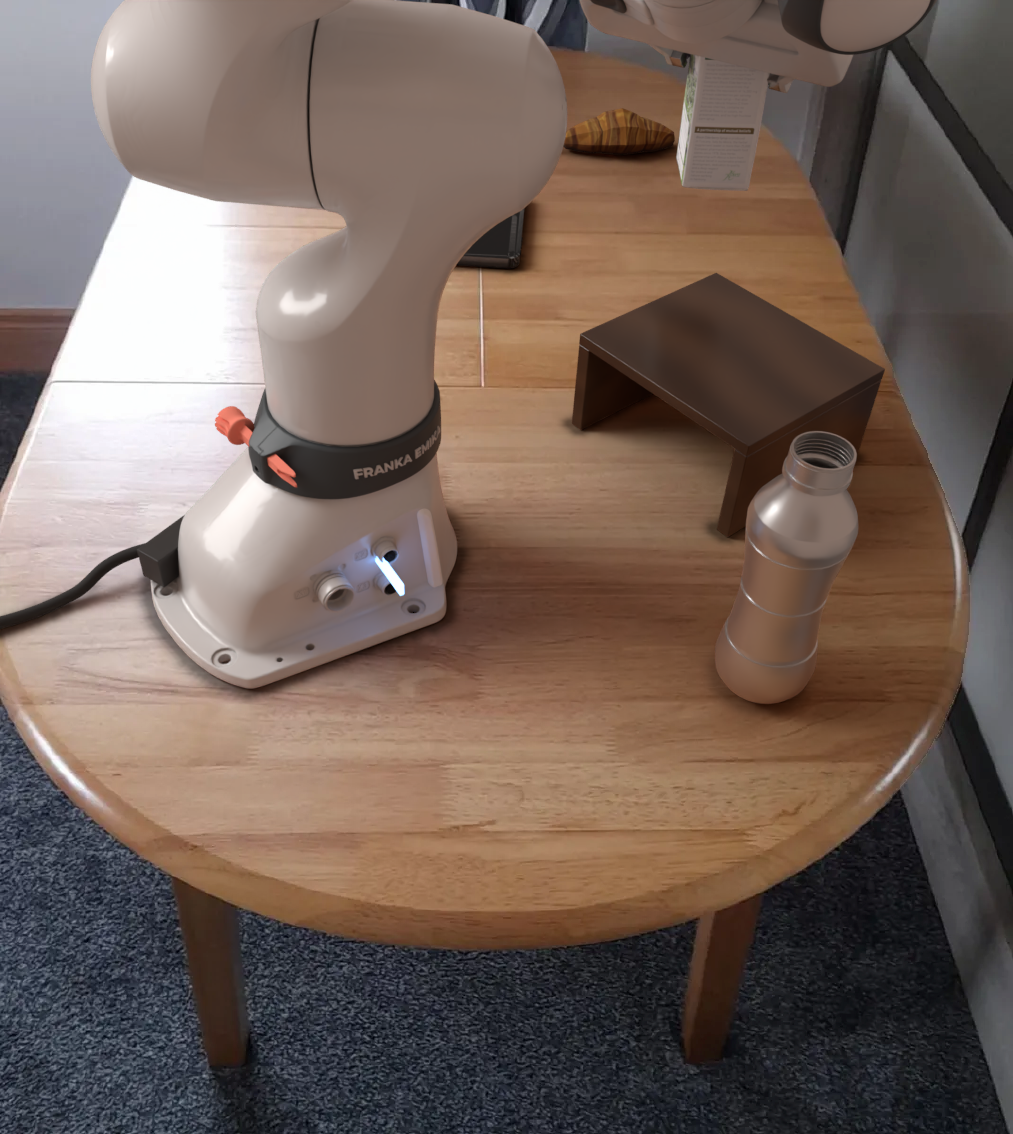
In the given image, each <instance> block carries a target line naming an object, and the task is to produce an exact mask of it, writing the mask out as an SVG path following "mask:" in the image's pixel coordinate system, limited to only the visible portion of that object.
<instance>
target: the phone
mask: <svg viewBox="0 0 1013 1134" xmlns="http://www.w3.org/2000/svg"><path fill="white" fill-rule="evenodd" d="M524 217H525V208H523V209H522V210H521V211H520V212H518V213H515V214H514V215H512V216H510V217H508V218H506V219H505V220H503V221H501V222H500V223H498V224H497V225H495V226H494V227H493V228H491V229H490V230H489V231H487V232H486V233H485V234H484V235H483V236H481V237H480V238H479V239H478V240H477V241H476V242H475V243H474V244H473V245H472V246H471V247H470V248H469V249H468V250H467V252H466V253H465V254H464V255H463V256H462V258H461V259H460V260H459V262H458V263H457V265H456V266H459V267H475V268H477V267H479V268H492V269H514V268H517V267H518V266H519V265H520V261H521V255H522V246H523V240H524V239H523V228H524Z"/></svg>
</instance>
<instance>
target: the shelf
mask: <svg viewBox="0 0 1013 1134" xmlns="http://www.w3.org/2000/svg"><path fill="white" fill-rule="evenodd" d="M578 344H579V346H578V352H577V353H578V354H577V362H576V363H577V365H576V375H575V383H574V384H575V385H574V396H573V405H572V417H571V424H572V425H573V426H574V427H576V429H579V430H581V431H582V430H584V429H586V428H588V427H590V426H592V425H593V424H596V423H598V422H600V421H602V420H604V419H606V418H608V417H611V415H613V414H617V413H618V412H619V411H622V410H623V409H626V408H628V407H631V406H632V405H633V404H635V403H637V402H640V401H641V400H642V401H643V399H645V398H648V397H650V396H651V395H654V396H656V397H657V398H659V399H660V400H662V402H664V403H666V404H668V405H669V406H670V407H672V408H674V409H675V410H676V411H678V412H679V413H681V414H682V415H684V416H686V417H687V418H688V419H690V420H691V421H692V422H694V423H696V424H697V425H699V426H700V427H702V428H703V429H705V430H706V431H708V432H709V433H711V435H713V436H715V437H717V438H718V439H719V440H721V441H723V442H724V443H725V444H727V445H728V446H730V447H731V448H732V449H734V450H733V454H732V459H731V463H730V464H731V465H730V467H729V473H728V477H727V481H726V486H725V491H724V494H723V500H722V504H721V508H720V513H719V517H718V521H717V526H716V530H717V532H720V533H721V534H722V535H724V536H725V537H727V538H729V537H731V536H733V535H734V534H735V533H737V532H739V531H740V530H742V529H743V528H746V519H747V511H748V507H749V505H750V503H751V501H752V499H753V498H754V496H755V495H756V493H757V492H758V491H759V490H760V489H761V487H763V486H764V485H765V484H767V483H768V482H770V481H771V480H772V479H774V478H775V477H777V476H778V475H780V474H782V467H783V463H784V461H785V458H786V457H787V456H788V452H789V449H790V446H791V443H792V442H793V440H794V439H795V438H796V437H797V436H798V435H800V434H803V433H806V432H811V431H823V432H829V433H833V434H836V435H838V436H841V437H842V438H844V439H846V440H847V441H849V442H850V443H851V444H852V445H853V446H854V448H855V450H856V453H857V457H856V459H857V458H858V455H859V452H860V449H861V446H862V443H863V439H864V436H865V433H866V430H867V427H868V424H869V420H870V418H871V414H872V412H873V409H874V405H875V403H876V400H877V396H878V392H879V389H880V386H881V382H882V380H883V377H884V374H885V371H886V369H885V368H884V367H882V366H881V365H879V364H877V363H876V362H874V361H872V360H870V359H868V358H867V357H865V356H863V355H862V354H859V353H858V352H856V351H854V350H852V349H851V348H849V347H848V346H845V345H844V344H842V343H840V342H839V341H837V340H835V339H833V338H832V337H830V336H828V335H826V334H825V333H823V332H821V331H819V330H818V329H816V328H814V327H812V326H810V325H809V324H807V323H806V322H804V321H802V320H800V319H798V318H796V317H795V316H793V315H791V314H789V313H788V312H786V311H785V310H782V309H781V308H779V307H777V306H776V305H774V304H772V303H771V302H768V301H766V300H765V299H763V298H762V297H760V296H759V295H756V294H755V293H753V292H751V291H749V290H747V289H746V288H744V287H742V286H740V285H739V284H737V283H736V282H733V281H732V280H730V279H728V278H727V277H725V276H723V275H721V274H720V273H717V272H714V273H712V274H710V275H707V276H705V277H703V278H701V279H698V280H697V281H694V282H693V283H690V284H688V285H686V286H683V287H681V288H679V289H677V290H675V291H671V292H670V293H668V294H665V295H663V296H661V297H659V298H656V299H655V300H652V301H650V302H648V303H646V304H643V305H641V306H639V307H637V308H634V309H632V310H630V311H628V312H626V313H623V314H620V315H619V316H617V317H615V318H614V317H613V318H612V319H610V320H608V321H605V322H604V323H601V324H599V325H597V326H595V327H592V328H591V329H588V330H585V331H583V332H581V333H579V343H578Z"/></svg>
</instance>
